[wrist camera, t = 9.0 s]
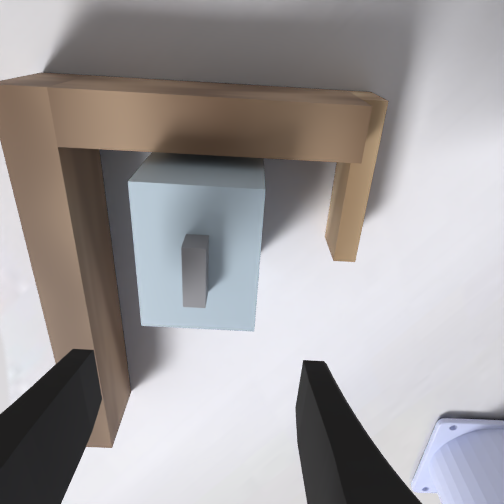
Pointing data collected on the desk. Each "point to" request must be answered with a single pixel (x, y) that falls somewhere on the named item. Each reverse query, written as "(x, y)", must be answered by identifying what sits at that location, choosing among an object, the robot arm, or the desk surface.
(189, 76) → the desk surface
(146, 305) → the cabinet block
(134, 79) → the wooden frame
